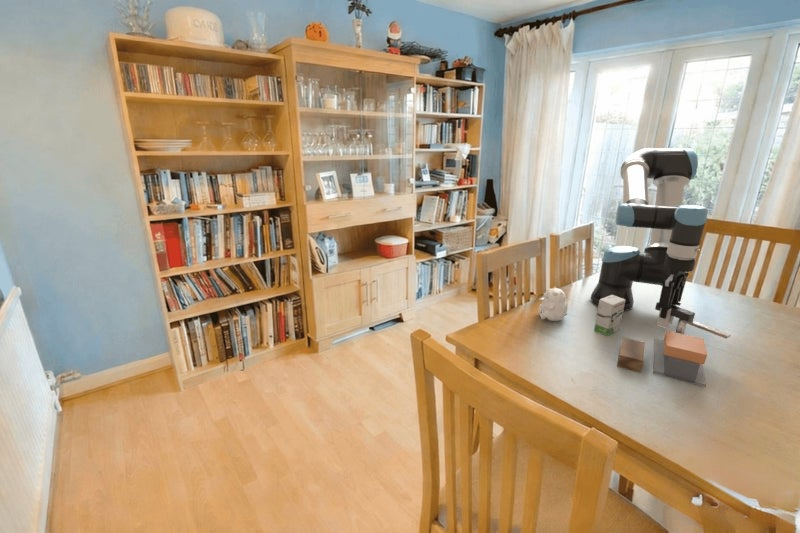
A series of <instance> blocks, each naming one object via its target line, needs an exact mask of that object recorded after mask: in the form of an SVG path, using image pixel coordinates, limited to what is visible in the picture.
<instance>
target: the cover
mask: <svg viewBox="0 0 800 533" xmlns="http://www.w3.org/2000/svg"><path fill="white" fill-rule="evenodd" d="M675 332H676V331H674V332H673V331H670V330H665V333H664V337H663V340H664V355H667V356H671V357H675V358H680V359H684V360H688V361H692V362H696V363H700V364H703V365H705V363H706V360H707V357H708V353H707V352H708V351H707V347H706V342H705V338H702V337H696V336H692V335H687V334H685V333H684V334H680V333H675Z"/></svg>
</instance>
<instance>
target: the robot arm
mask: <svg viewBox="0 0 800 533" xmlns="http://www.w3.org/2000/svg"><path fill="white" fill-rule="evenodd" d="M698 166H699V158H698V154H697V152H696V151H695V150H694V149H693V148H684V147H679V148H673V147H672V148H671V147H669V148H664V147H661V148H654V147H651V148H650V147H647V148H642V149H640V150H637V151H635V152H634V153H632V154H631V155H629V156H628V157H627V158H626V159H625V160H624V161H623V163H622V165H621V167H620V177H621V179H622V180H623V182H622V183H623V185H622V186H623V188H622V189H623V192H622V195H623V196H622V199H623V200H622V203H620V204H619V205H618V206H617V209H616V215H615V224H616V225H617V226H621V227H627V228H640V229H641V228H644V229H651V232H650V241H649V245H647V246H646V247H645V248H644V251H643V252H641V251H640V249H639V247H635V246H630V245H615V246H611V247H607V248H606V249H605V250H604V253H603V255H602V256H603V257H602V258H601V268H600V273H599V278H598V283H597V284H596V286H595V287H594V289H593V291H592V293H591V295H590V302H592V304H594V305H596V306H597V307H598V305H599V300H600V299H602V298H605V297H607V296H610V295H615V296H617V297H620V298H623V299H625V305H624V310H623V312H624V311H629V310H631V309H633V307H634V302H635V301H634V296H633V295H634V294H633V290H632V289H633V288H632V286H633V283H640V284H650V285H656V286H660V287H661V291H660V296H659V301H658V302H659V305H658V307H660V308H661V309H660V311H659V314H658V318H657V322H656V326H659V327H662V328H664V329H667V327H668V324H670V325H672V324H673V323H674V318H675V317H674V316H671V315H670V313H671V309H670V308H671V305H674V306H678V307H680V306H681V304H682V303H680V302H681V301H682V296H683V293H684V290H685V286H686V282H687V279H688V277H689V273H690V272H692V271H694V269H695V264H696V261H697V260H696V258H697V256H698V254H699V253H700V252H701V249H700V245H701V240H702V238H703V234H704V231H705V225H706V223H707V221H708V213H709V210H708V208H707V207H705V206H701V205H696V204H695V205H694V204H683V201H684V190H685V187H686V186H687V185H689V184H690V181H691V180H694V179H695V178H696V176H697V173H698ZM648 179H653V180H652V181H653V182H652V183H653V185H654V186H655V187H656V194H655V201H654V202H655V203H654V204H653V205H651V204H650V202H649V190H648Z"/></svg>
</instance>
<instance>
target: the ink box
mask: <svg viewBox="0 0 800 533" xmlns="http://www.w3.org/2000/svg"><path fill="white" fill-rule="evenodd" d="M624 305H625V299H623V298H620V297H617V296H615V295H610V296H607V297H605V298H602V299H600V300H599V305H598V306H597V312H596V316H595V317H596V318H595V324H594V329H593V331H594V332H596V333H599V334H602V335H604V336H610V335H611V334H614V333H616V332H617V331H619V330H620V329H621V325H622V321H623V320H622V319H623V314H624V311H625V310H624ZM623 310H624V311H623Z"/></svg>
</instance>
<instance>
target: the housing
mask: <svg viewBox="0 0 800 533" xmlns="http://www.w3.org/2000/svg"><path fill="white" fill-rule="evenodd" d="M652 361H653V367H652V373H653V374H657V375H660V376H663V377H667V378H671V379H674V380H679V381H682V382H685V383H689V384H693V385H696V386H699V387H700V386H701V387H704V388H707V386H708V385H707V381H706V375H705V374H706V373H705V368H704V364H700V363H696V362H692V361H688V360H684V359H680V358H675V357H671V356H667V355H664V338H663V339H662V338H658V337H654V338H653V360H652Z"/></svg>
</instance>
